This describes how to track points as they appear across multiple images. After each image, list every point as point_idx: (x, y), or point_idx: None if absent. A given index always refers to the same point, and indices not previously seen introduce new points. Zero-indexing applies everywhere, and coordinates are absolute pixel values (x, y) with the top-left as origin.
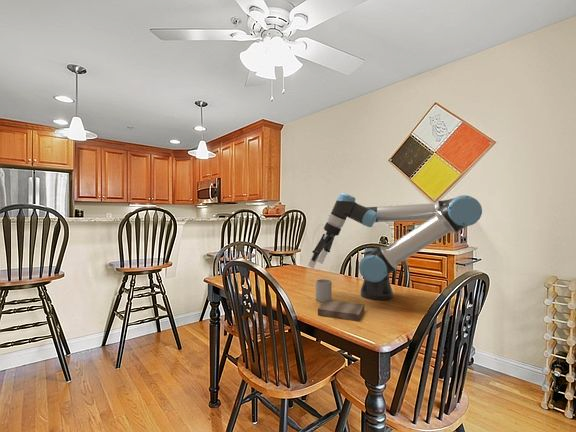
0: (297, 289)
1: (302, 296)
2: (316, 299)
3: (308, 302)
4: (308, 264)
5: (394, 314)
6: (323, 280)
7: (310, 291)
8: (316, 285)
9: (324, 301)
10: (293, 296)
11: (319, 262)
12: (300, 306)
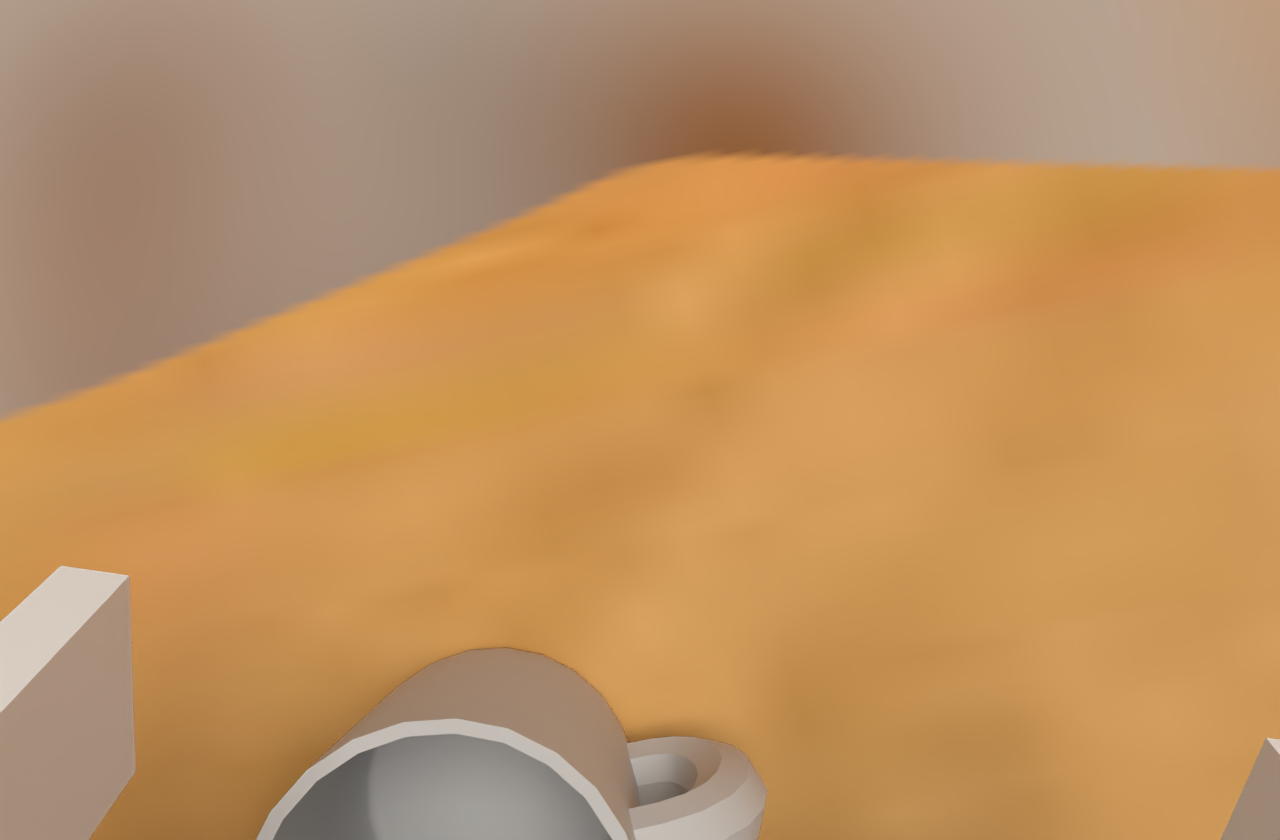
0: (1063, 176)
1: (625, 370)
2: (421, 670)
3: (298, 547)
4: (32, 594)
5: None
6: None
7: (996, 447)
8: (361, 726)
9: (360, 826)
10: (580, 214)
11: (1232, 832)
12: (49, 462)
